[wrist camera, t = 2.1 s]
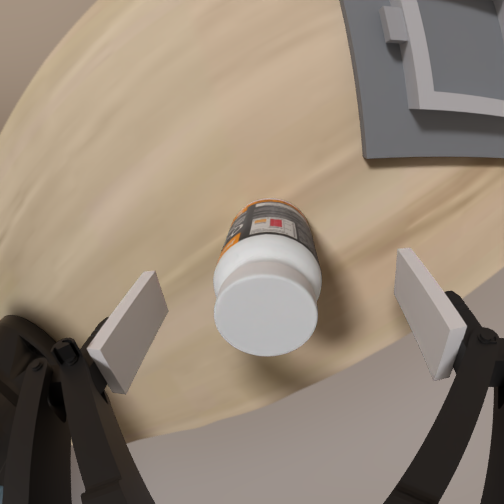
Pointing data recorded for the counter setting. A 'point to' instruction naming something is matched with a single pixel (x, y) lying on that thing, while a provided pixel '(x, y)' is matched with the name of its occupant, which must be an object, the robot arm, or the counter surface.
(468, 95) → the socket
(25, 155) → the counter surface
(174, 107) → the counter surface
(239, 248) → the pill bottle
